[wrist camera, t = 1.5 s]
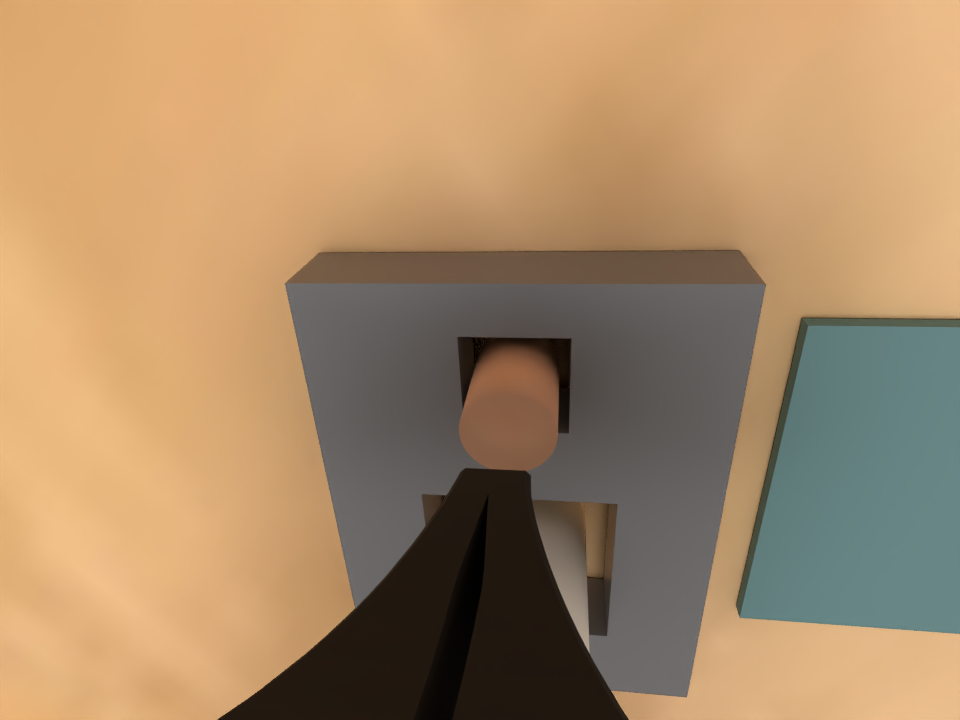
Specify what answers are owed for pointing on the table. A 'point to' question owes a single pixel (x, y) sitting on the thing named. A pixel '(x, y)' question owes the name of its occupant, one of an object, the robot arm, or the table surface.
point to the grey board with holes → (581, 415)
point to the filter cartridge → (566, 555)
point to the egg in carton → (512, 404)
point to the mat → (863, 481)
